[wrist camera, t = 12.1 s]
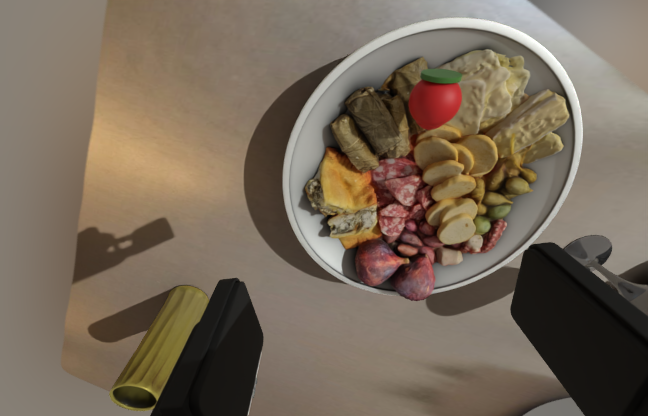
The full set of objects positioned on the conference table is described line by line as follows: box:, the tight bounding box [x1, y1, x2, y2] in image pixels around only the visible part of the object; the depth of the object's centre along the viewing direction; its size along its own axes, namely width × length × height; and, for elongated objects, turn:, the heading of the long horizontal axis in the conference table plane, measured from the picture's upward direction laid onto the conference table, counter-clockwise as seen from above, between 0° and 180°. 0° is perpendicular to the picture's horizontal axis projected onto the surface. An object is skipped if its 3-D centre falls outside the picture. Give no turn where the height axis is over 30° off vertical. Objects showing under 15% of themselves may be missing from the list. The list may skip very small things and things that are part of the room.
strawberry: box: [409, 69, 462, 130], centre depth 23 cm, size 4×4×4 cm
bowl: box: [282, 17, 583, 301], centre depth 30 cm, size 30×30×8 cm
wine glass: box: [564, 235, 648, 316], centre depth 33 cm, size 8×8×15 cm
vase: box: [109, 286, 209, 411], centre depth 37 cm, size 6×6×14 cm
